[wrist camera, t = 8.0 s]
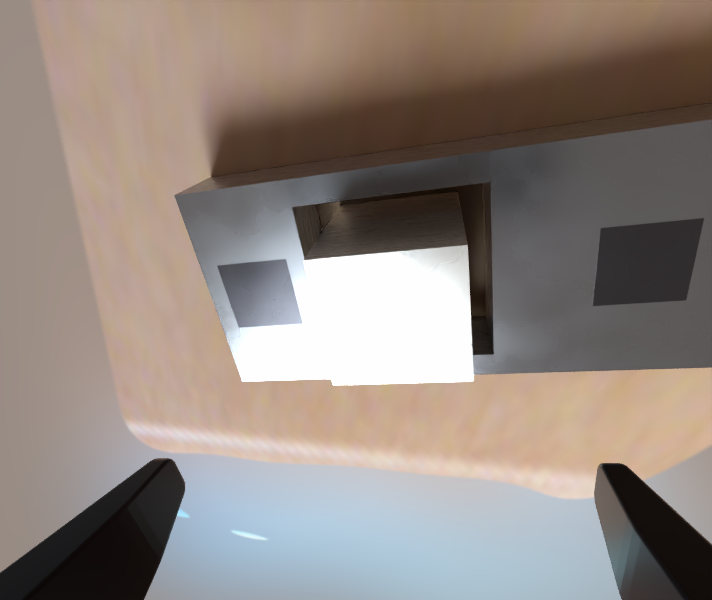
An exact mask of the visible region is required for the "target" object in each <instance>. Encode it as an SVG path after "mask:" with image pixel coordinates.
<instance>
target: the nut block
mask: <svg viewBox="0 0 712 600" xmlns="http://www.w3.org/2000/svg"><path fill="white" fill-rule="evenodd" d="M303 262H304V266H305V270H306V274H307V279H308V283H309V287H310V291H311V295H312V299H313V303H314V308H315V312H316V316H317V320H318V324H319V328H320V333H321V337H322V341H323V345H324V349H325V353H326V358H327V362H328V366H329V370H330V374H331V378H332V383H333V385H358V384H397V383H437V382H474V373H473V351H472V328H471V306H470V284H469V261H468V244H467V238H466V233H465V228H464V222H463V217H462V212H461V207H460V201H459V196H458V191H456V192H448V193H439V194H431V195H423V196H415V197H406V198H398V199H390V200H382V201H373V202H365V203H357V204H348V205H340V206H339V207H338V209H337V210H336V212H335V213H334V215H333V216H332V218H331V219H330V221H329V222H328V224H327V225H326V227H325V228H324V230H323V231H322V233H321V234H320V236H319V237H318V239H317V240H316V242H315V243H314V245H313V246H312V248H311V249H310V251H309V252H308V254H307V255H306V257H305V258H304V260H303Z"/></svg>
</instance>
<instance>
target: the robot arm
mask: <svg viewBox="0 0 712 600" xmlns="http://www.w3.org/2000/svg"><path fill="white" fill-rule="evenodd" d="M184 492H185V482H184V479H183V477H182V475H181V474H180V472H179V470H178V468H177V466H176V464H175V462H174V461H173V460H172V459H168V458H157V459H154V460H152V461H150V462H149V463H147V464H146V465H145V466H143V467H142V468H141V469H139V470H138V471H137V472H135V473H134V474H133V475H131V476H130V477H129V478H127V479H126V480H125V481H123V482H122V483H121V484H119V485H118V486H117V487H115V488H114V489H112V490H111V491H110V492H108V493H107V494H106V495H104V496H103V497H102V498H100V499H99V500H98V501H96V502H95V503H94V504H92V505H91V506H89V507H88V508H87V509H85V510H84V511H83V512H82V513H80V514H79V515H77V516H76V517H75V518H73V519H72V520H71V521H69V522H68V523H67V524H65V525H64V526H63V527H61V528H60V529H59V530H57V531H56V532H55V533H53V534H52V535H50V536H49V537H48V538H46V539H45V540H44V541H42V542H41V543H40V544H38V545H37V546H36V547H34V548H33V549H32V550H30V551H29V552H28V553H26V554H25V555H23V556H22V557H21V558H19V559H18V560H17V561H16V562H14V563H13V564H11V565H10V566H9V567H7V568H6V569H5V570H3V571H2V572H0V600H144V598H145V596H146V594H147V592H148V589H149V587H150V585H151V583H152V580H153V578H154V576H155V574H156V571H157V569H158V566H159V564H160V562H161V559H162V556H163V553H164V551H165V548H166V545H167V542H168V539H169V536H170V533H171V531H172V528H173V525H174V522H175V519H176V516H177V513H178V510H179V507H180V504H181V501H182V498H183V495H184ZM594 497H595V504H596V508H597V512H598V516H599V519H600V523H601V526H602V530H603V534H604V538H605V542H606V546H607V549H608V553H609V557H610V560H611V564H612V568H613V571H614V575H615V579H616V582H617V586H618V589H619V593H620V596H621V599H622V600H712V544H711V543H710V542H709V541H707V540H706V539H705V538H704V537H703V536H702V535H701V534H700V533H699V532H698V531H696V530H695V529H694V528H693V527H692V526H691V525H690V524H689V523H688V522H687V521H686V520H685V519H684V518H683V517H681V516H680V515H679V514H678V513H677V512H676V511H675V510H673V508H672V507H671V506H669V505H668V504H667V503H666V502H665V501H664V500H663V499H662V498H661V497H660V496H659V495H658V494H656V493H655V492H654V491H653V490H652V489H651V488H650V487H649V486H648V485H647V484H645V482H643V481H642V480H641V479H640V478H639V477H638V476H637V475H636V474H635V473H634V472H633V471H632V470H630V469H629V468H628V467H627V466H625V465H624V464H620V463H602V464H600V465H599V466H598V469H597V476H596V483H595V491H594Z"/></svg>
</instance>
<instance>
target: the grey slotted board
mask: <svg viewBox="0 0 712 600" xmlns="http://www.w3.org/2000/svg"><path fill="white" fill-rule="evenodd" d="M479 183H482V194H483V229H484V264H485V298H486V317H471V328H472V351H473V373H474V375H477V374H510V373H543V372H576V371H608V370H641V369H674V368H707V367H712V103H707V104H700V105H694V106H687V107H680V108H673V109H667V110H660V111H653V112H647V113H640V114H633V115H626V116H620V117H613V118H606V119H599V120H593V121H586V122H579V123H573V124H566V125H559V126H552V127H546V128H539V129H532V130H525V131H519V132H512V133H505V134H499V135H492V136H485V137H478V138H472V139H465V140H458V141H452V142H445V143H438V144H431V145H425V146H418V147H411V148H404V149H398V150H391V151H384V152H378V153H371V154H364V155H357V156H351V157H344V158H337V159H330V160H324V161H317V162H310V163H304V164H297V165H290V166H283V167H277V168H270V169H263V170H256V171H250V172H243V173H236V174H230V175H223V176H216V177H210V178H208V179H206V180H204V181H202V182H200V183H198V184H196V185H194V186H192V187H190V188H188V189H186V190H184V191H182V192H180V193H178V194H176V195H174V196H175V198H176V201H177V204H178V207H179V209H180V212H181V215H182V217H183V220H184V223H185V226H186V228H187V231H188V234H189V237H190V239H191V242H192V245H193V248H194V250H195V253H196V256H197V259H198V261H199V264H200V267H201V269H202V272H203V275H204V278H205V280H206V283H207V286H208V289H209V291H210V294H211V297H212V300H213V302H214V305H215V308H216V310H217V313H218V316H219V319H220V321H221V324H222V327H223V330H224V332H225V335H226V338H227V341H228V343H229V346H230V349H231V351H232V354H233V357H234V360H235V362H236V365H237V368H238V371H239V373H240V376H241V379H242V382H247V381H280V380H313V379H332V378H331V374H330V370H329V366H328V362H327V358H326V353H325V349H324V345H323V341H322V337H321V333H320V328H319V324H318V320H317V316H316V312H315V308H314V303H313V299H312V295H311V291H310V287H309V283H308V279H307V274H306V270H305V266H304V262H303V260H304V258H305V257H306V255H307V254H308V252H309V251H310V249H311V248H312V246H313V245H314V243H315V242H316V240H317V239H318V237H319V236H320V234H321V233H322V231H321V226H320V221H319V216H318V212H317V207H316V204H320V203H328V202H336V201H344V200H352V199H360V198H368V197H376V196H384V195H392V194H400V193H408V192H416V191H424V190H431V189H439V188H447V187H455V186H463V185H471V184H479Z"/></svg>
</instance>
